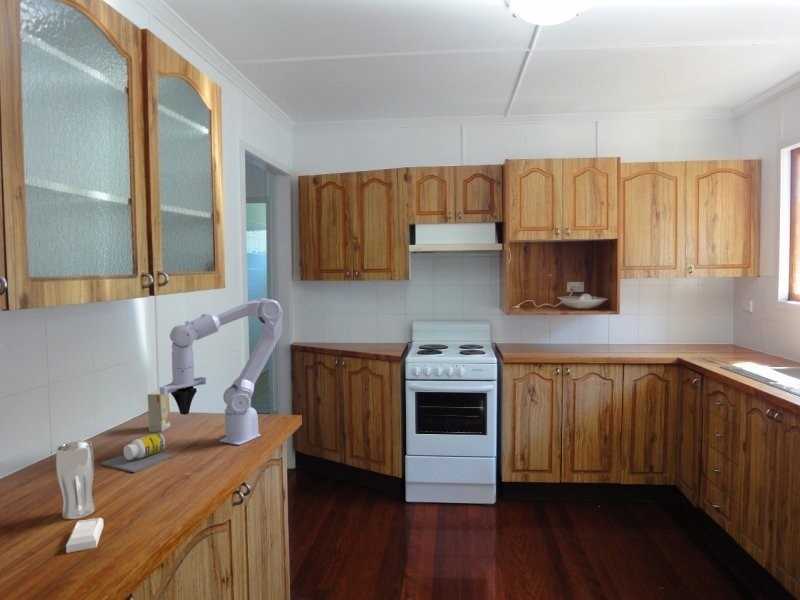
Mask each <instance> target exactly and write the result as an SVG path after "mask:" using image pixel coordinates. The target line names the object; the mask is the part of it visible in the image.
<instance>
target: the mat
mask: <svg viewBox="0 0 800 600" xmlns="http://www.w3.org/2000/svg"><path fill="white" fill-rule="evenodd" d="M169 458H170V459H172V458H173V455H172V454H168V453H164V452H162V451H159V452H157V453H154V454H151V455H149V456H146V457H143V458H141V459H137V458H134V459H131V460H128V459H126V457H125V456H124V454H121V455H118V456H117V457H113V458H111V459H108V460H104V461H103V462H101V465H102V466H105V467H108V468H112V469H116V470H120V471H123V470H124V472H127V471H129V472H128V473H131V472H133V473H132V474H135V473H137V471H138V472H140V471H143V470H146V469H147V467H148V468H150V467H153V466H155V465H157V464H160V463H162V462H164V460H165V461H167V460H170V459H169ZM161 461H162V462H161ZM159 462H160V463H159ZM154 464H155V465H154ZM152 465H153V466H152ZM142 469H143V470H142ZM139 470H140V471H139ZM134 472H135V473H134Z"/></svg>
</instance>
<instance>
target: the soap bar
mask: <svg viewBox="0 0 800 600" xmlns="http://www.w3.org/2000/svg"><path fill="white" fill-rule="evenodd" d="M103 528H104V519H103V518H101V517H95V518H88V519H84V520H83V519H82V520H77V522H76V523H75V525H74V527H73V529H72V531H71V534H70V535H69V538H68V541H67V543H66V545H65V549H66V554H69V553H75V552H79V551H84V550H91V549H96V548H97V547H98V543H99V542H100V537H101V535H102V533H103V532H102V531H103V530H104V529H103Z"/></svg>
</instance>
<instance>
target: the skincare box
mask: <svg viewBox="0 0 800 600" xmlns="http://www.w3.org/2000/svg"><path fill="white" fill-rule="evenodd" d="M147 406H148V407H147V411H148V431H149V432H151V433H156V432H158V433H161V432H164V431H165V430H167V429H169V428H170V427H171V412H170V411H171V410H170V409H171V408H170V393H167V394H166V395H163V394H160V389H156V390H154V391H151V392H150V393H148V394H147Z"/></svg>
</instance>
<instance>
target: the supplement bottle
mask: <svg viewBox="0 0 800 600" xmlns="http://www.w3.org/2000/svg"><path fill="white" fill-rule="evenodd" d="M165 447H166V440H165V437H164V436H163V434H162V433H161V432H152V433H150V434H147V435H144V436H142V437H139V438H136V439H133V440H132V441H131V443H128V444H127V445H125V446H124V447H123V452H122V453H123V455H124V456H125V457H126V459H128V460H131V459H134V458H137V459H141V458H143V457H146V456H149V455H151V454H154V453H157V452H162V451H163V450H164V449H165Z"/></svg>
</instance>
